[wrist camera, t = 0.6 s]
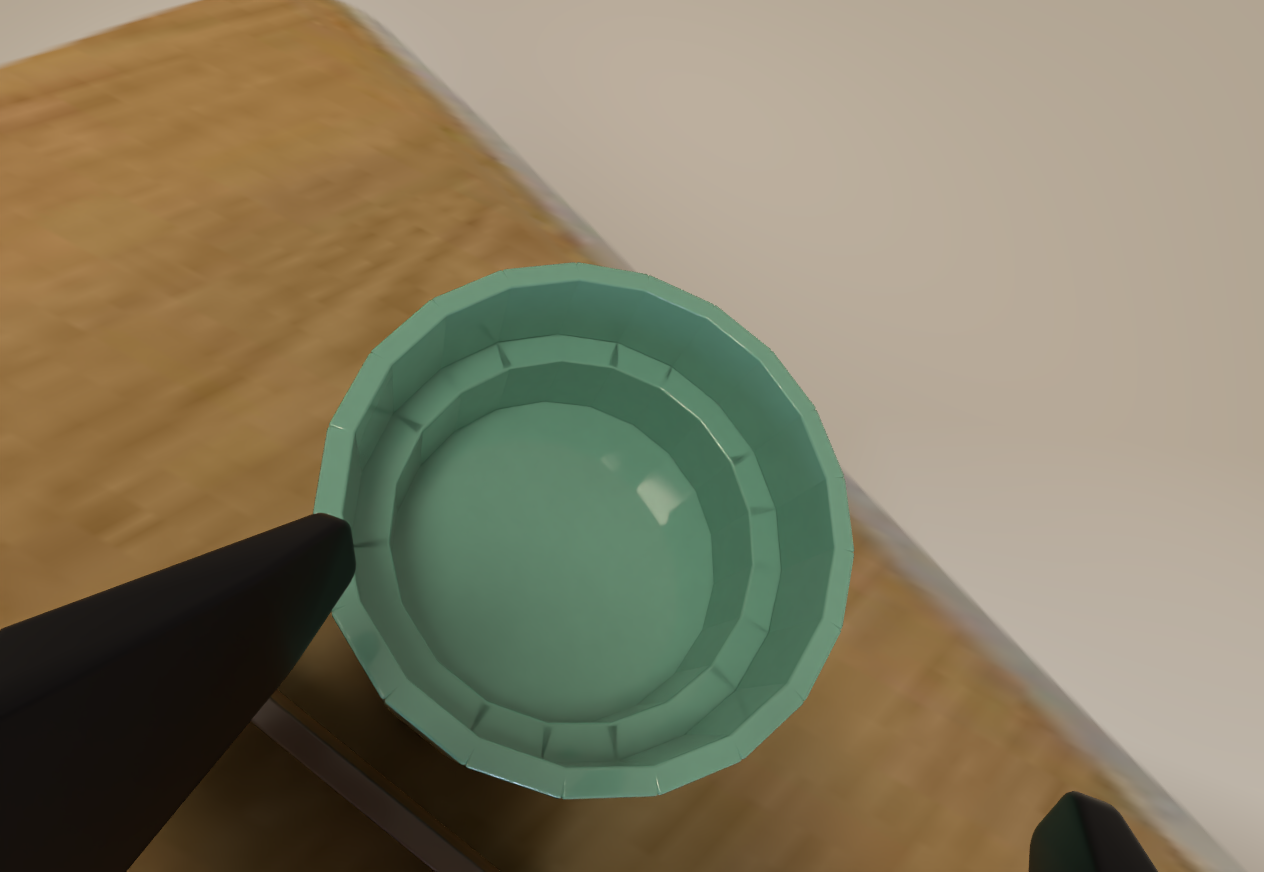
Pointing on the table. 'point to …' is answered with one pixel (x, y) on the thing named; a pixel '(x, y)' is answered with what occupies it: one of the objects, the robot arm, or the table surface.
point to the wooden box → (366, 788)
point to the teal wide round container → (586, 531)
